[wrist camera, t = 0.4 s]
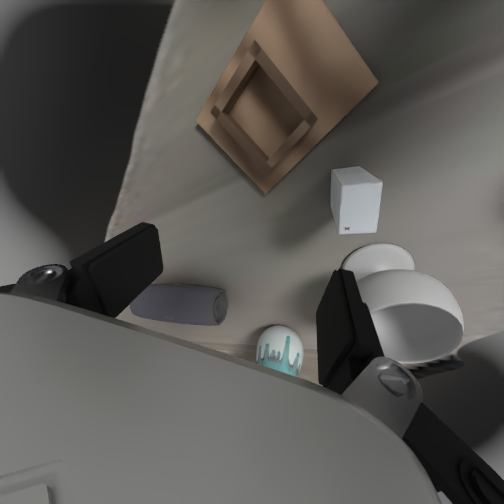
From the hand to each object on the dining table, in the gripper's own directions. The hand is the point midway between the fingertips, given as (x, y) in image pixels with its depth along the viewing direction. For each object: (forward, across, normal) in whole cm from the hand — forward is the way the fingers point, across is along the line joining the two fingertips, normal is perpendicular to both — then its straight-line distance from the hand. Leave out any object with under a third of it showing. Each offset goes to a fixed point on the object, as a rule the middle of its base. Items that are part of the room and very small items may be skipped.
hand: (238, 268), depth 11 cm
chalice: (+28, -20, +14) cm, 38 cm away
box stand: (+28, +4, -9) cm, 29 cm away
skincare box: (+28, -9, 0) cm, 30 cm away
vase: (+28, -7, +41) cm, 50 cm away
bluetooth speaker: (+29, +20, +34) cm, 48 cm away
